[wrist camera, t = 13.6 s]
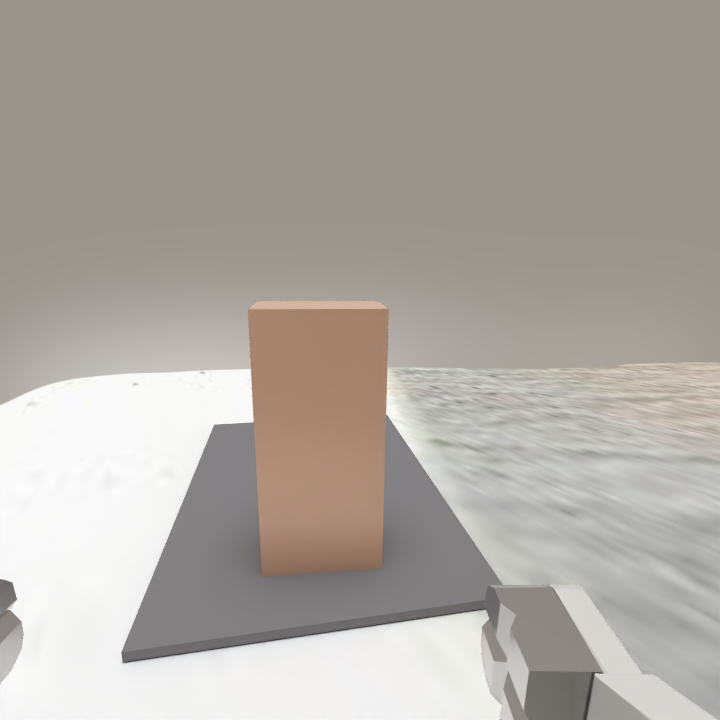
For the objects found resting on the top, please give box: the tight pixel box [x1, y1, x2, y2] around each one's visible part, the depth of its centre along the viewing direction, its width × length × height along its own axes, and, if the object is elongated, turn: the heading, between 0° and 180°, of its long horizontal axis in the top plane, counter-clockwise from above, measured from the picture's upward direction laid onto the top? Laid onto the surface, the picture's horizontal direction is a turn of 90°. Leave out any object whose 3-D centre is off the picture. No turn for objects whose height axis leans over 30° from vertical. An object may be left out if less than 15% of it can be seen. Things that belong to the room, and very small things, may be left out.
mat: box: [122, 415, 502, 662], centre depth 25 cm, size 14×20×1 cm
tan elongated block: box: [248, 301, 389, 577], centre depth 18 cm, size 5×3×11 cm, turn 96°
